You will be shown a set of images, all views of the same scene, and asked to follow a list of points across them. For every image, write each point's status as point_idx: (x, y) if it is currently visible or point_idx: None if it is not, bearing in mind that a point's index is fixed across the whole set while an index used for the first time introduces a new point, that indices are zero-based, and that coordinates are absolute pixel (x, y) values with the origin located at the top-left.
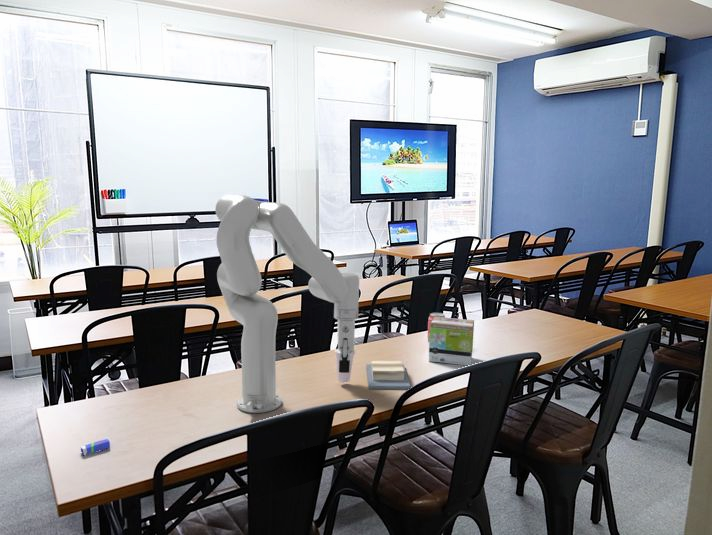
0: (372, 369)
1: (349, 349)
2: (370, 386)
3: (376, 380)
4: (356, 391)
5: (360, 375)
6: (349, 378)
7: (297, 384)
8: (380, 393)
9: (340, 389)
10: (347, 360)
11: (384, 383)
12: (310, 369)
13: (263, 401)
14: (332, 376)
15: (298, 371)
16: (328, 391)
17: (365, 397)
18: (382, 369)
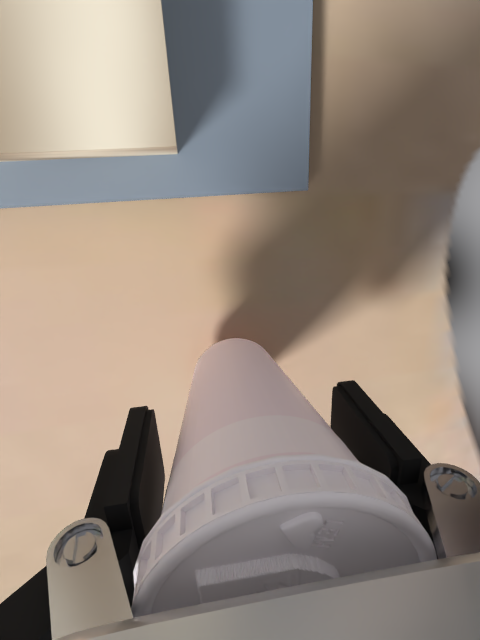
0: (82, 151)
1: (244, 583)
2: (305, 175)
3: (182, 116)
4: (337, 272)
5: (19, 264)
6: (254, 346)
7: None
8: (383, 92)
9: (304, 367)
10: (452, 481)
11: (251, 33)
12: (4, 562)
13: None
14: (94, 440)
15: None
16: (330, 419)
17: (435, 209)
18: (96, 4)
